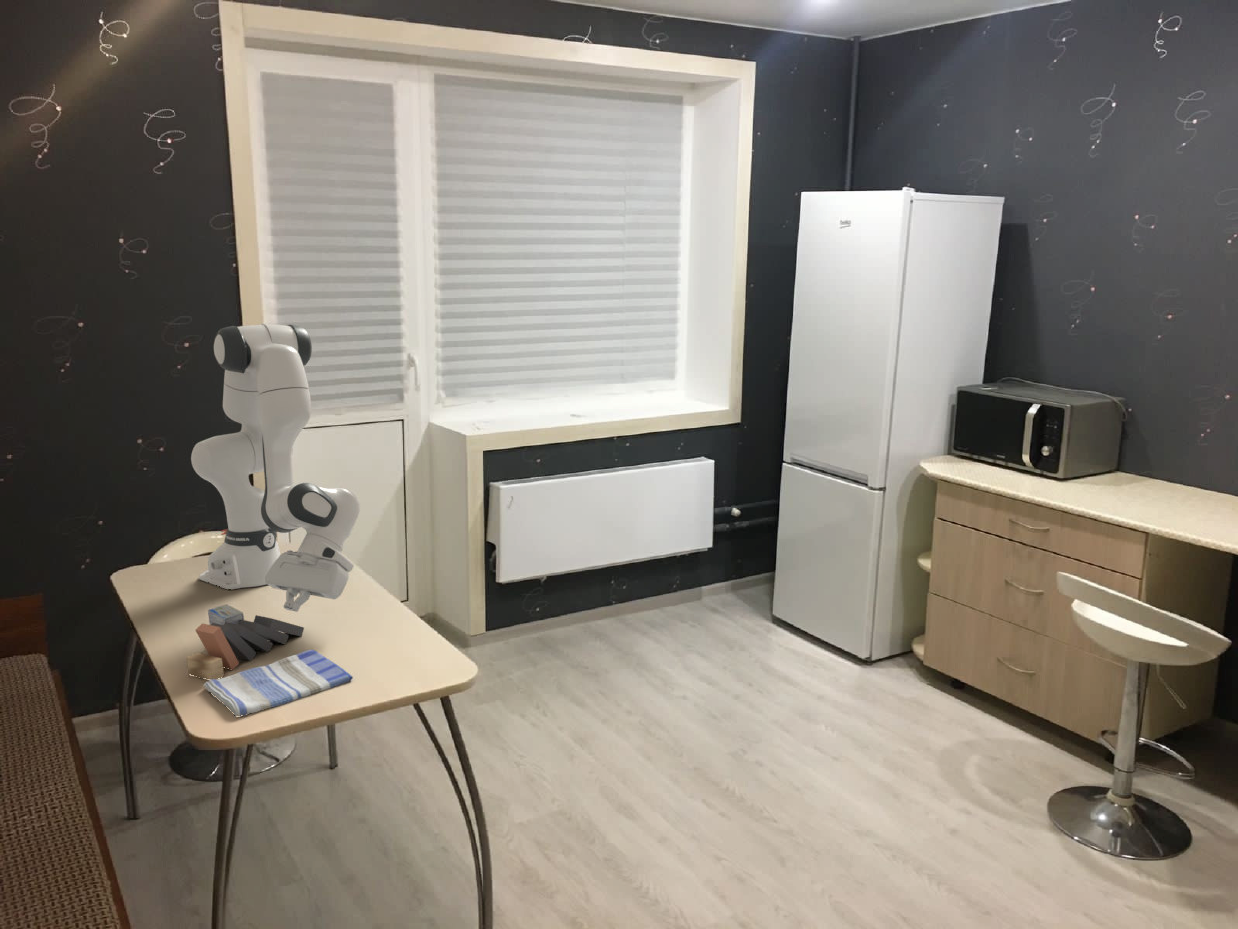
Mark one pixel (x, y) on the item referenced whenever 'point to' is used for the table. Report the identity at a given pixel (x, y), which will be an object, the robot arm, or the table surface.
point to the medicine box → (225, 615)
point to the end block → (205, 666)
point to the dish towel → (277, 682)
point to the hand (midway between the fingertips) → (290, 609)
